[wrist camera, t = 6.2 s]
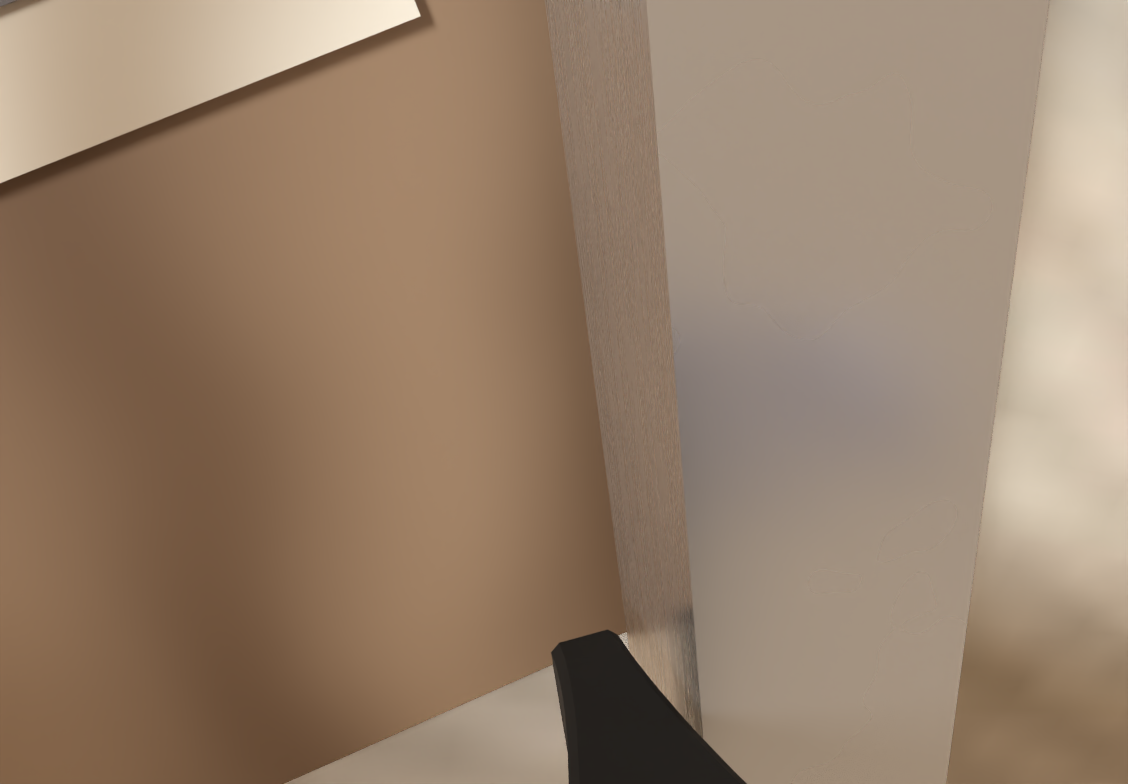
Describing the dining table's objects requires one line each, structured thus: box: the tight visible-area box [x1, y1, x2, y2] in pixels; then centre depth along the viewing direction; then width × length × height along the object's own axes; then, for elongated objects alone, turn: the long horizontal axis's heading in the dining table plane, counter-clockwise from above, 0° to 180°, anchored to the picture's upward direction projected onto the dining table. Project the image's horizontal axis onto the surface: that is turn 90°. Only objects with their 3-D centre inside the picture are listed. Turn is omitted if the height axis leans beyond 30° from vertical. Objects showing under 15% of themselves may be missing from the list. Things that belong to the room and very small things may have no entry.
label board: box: [0, 0, 627, 784], centre depth 10 cm, size 20×16×2 cm
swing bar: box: [545, 0, 1049, 784], centre depth 10 cm, size 18×4×3 cm, turn 8°
